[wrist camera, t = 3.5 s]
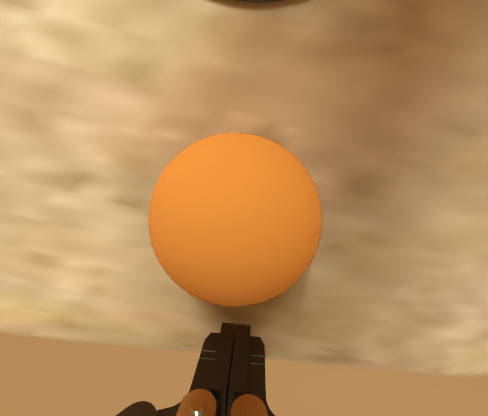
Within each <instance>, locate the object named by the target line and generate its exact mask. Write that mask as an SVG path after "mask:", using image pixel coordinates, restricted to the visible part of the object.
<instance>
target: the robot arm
mask: <svg viewBox="0 0 488 416" xmlns="http://www.w3.org/2000/svg"><path fill="white" fill-rule="evenodd" d="M250 328H251V325H244V324H237V328H236V324H233V323H222V326H221V331H220V333H210V334H209V336H208V337H207V338H206V339H205V341H204V344H203V348H202V351H201V354H200V359H199V361H198V364H197V368H196V371H195V375H194V378H193V382H192V385H191V388H190V391H189V393H188V394H187V395H186V396H185V397H184V398H183V400H182V401H181V402H180V403H178V404H177V405H175V406H173V407H169V408H165V409H162V410H157V411H156V409H155V407H154V406H153V405H152V404H151V403H149V402H146V401H141V402H137V403H134V404H132V405H130V406H129V407H127V408H126V409H124V410H123V411H122V412H120V413H119V414H118V415H116V416H275V415H274V414H273V413H272V412H271V411H270V409H269V407H268V405H267V402H266V392H265V391H266V390H265V350H264V344H263V342H262V340H261V338H260V337H252V336H250Z"/></svg>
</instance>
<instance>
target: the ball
mask: <svg viewBox="0 0 488 416" xmlns="http://www.w3.org/2000/svg"><path fill="white" fill-rule="evenodd" d="M321 228H322V212H321V205H320V200H319V196H318V193H317V190H316V187H315V184H314V182H313V180H312V179H311V177H310V175H309V173H308V172H307V170H306V169H305V168H304V166H303V165H302V164H301V163H300V162H299V160H298V159H297V158H296V157H295V156H294V155H292V154H291V153H290V152H289V151H287V150H286V149H285V148H283V147H282V146H280V145H278V144H276V143H275V142H273V141H270V140H268V139H265V138H263V137H259V136H255V135H252V134H244V133H226V134H219V135H215V136H211V137H208V138H205V139H203V140H200V141H198V142H196V143H194V144H192V145H191V146H189V147H188V148H186V149H185V150H183V151H182V152H181V153H180V154H178V155H177V156H176V157H175V158H174V159H173V160H172V161H171V162H170V163H169V164H168V166H167V167H166V168H165V170H164V171H163V173H162V174H161V176H160V178H159V180H158V182H157V184H156V186H155V188H154V191H153V194H152V197H151V201H150V207H149V233H150V238H151V243H152V246H153V249H154V252H155V254H156V256H157V258H158V260H159V262H160V264H161V265H162V267H163V268H164V270H165V271H166V273H167V274H168V275H169V276H170V277H171V279H172V280H173V281H174V282H175V283H176V284H177V285H179V286H180V287H181V288H182V289H184V290H185V291H186V292H188V293H189V294H191V295H193V296H195V297H196V298H198V299H201V300H203V301H206V302H209V303H212V304H216V305H222V306H235V307H237V306H248V305H253V304H258V303H261V302H264V301H267V300H269V299H271V298H274V297H276V296H278V295H279V294H281V293H282V292H284V291H285V290H287V289H288V288H289V287H290V286H292V285H293V284H294V283H295V282H296V281H297V280H298V279H299V278H300V276H301V275H302V274H303V273H304V272H305V270H306V269H307V267H308V266H309V265H310V263H311V261H312V259H313V257H314V255H315V252H316V249H317V247H318V244H319V239H320V235H321Z"/></svg>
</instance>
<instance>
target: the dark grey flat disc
mask: <svg viewBox="0 0 488 416" xmlns="http://www.w3.org/2000/svg"><path fill="white" fill-rule="evenodd" d="M242 1H252V2H259V1H277V0H242Z"/></svg>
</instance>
